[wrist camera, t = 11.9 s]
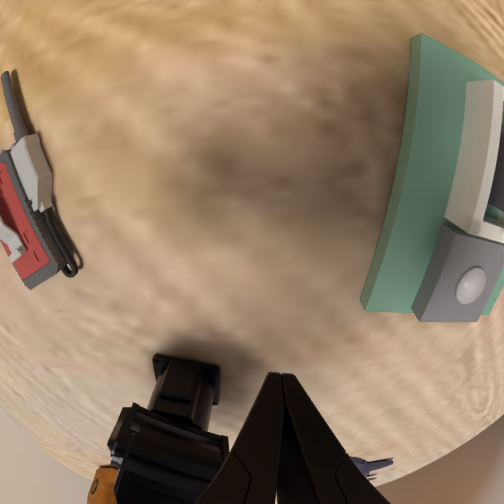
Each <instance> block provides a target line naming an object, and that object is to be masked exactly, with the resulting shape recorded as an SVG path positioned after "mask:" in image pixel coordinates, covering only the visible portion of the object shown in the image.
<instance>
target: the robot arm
mask: <svg viewBox="0 0 504 504" xmlns="http://www.w3.org/2000/svg"><path fill="white" fill-rule="evenodd" d="M152 361H153V366H154V372H155V377H156V381H157V382H156V385H155V388H154V391H153V393H152V396H151V399H150V402H149V404H148V407H147V409H145V408H143V407H141V406H139V404H136V403H134V402H133V405H132V407H131V408H130V407H123V409H122V411H121V413H120V416H119V418H118V421H117V423H116V425H115V427H114V429H113V431H112V434H111V436H110V438H109V440H108V443H107V446H108V448H109V450H110V451H111V455H110V456H111V457H112V460H111V464H110V465H112V466H115V467H117V468H119V469H118V472H117V476H116V479H115V483H114V489H113V491H114V494H115V497H116V501H117V504H275V498H276V490H277V503H278V504H391V503H390V502H389V501H387V499H386V498H385V497H384V496H383V495H381V493H380V492H379V491H378V490H377V489H376V488H375V487H374V486H373V485H372V484H371V483H370V482H369V481H368V479H367V478H366V477H365V476H364V475H363V474H362V473H361V471H360V470H359V469H358V467H357V466H356V465H355V463H354V462H353V461H352V459H351V458H350V456H349V455H348V453H346V451H345V449H344V448H343V446H342V445H341V443H340V442H339V441H338V439H337V438H336V436H335V435H334V433H333V432H332V430H331V429H330V427H329V426H328V424H327V423H326V421H325V420H324V419H323V417H322V416H321V414H320V413H319V411H318V410H317V408H316V407H315V405H314V404H313V402H312V401H311V399H310V398H309V396H308V395H307V393H306V391H305V390H304V388H303V387H302V385H301V384H300V382H299V381H298V379H297V378H296V376H295V375H294V374H290V373H282V374H280V373H278V372H268V374H267V376H266V378H265V380H264V382H263V385H262V387H261V389H260V391H259V393H258V395H257V398H256V400H255V402H254V404H253V406H252V408H251V410H250V412H249V414H248V417H247V419H246V421H245V423H244V425H243V427H242V429H241V431H240V433H239V435H238V437H237V439H236V441H235V443H234V445H233V447H232V449H231V451H230V452H229V442H228V437H227V436H224V435H221V436H220V435H217V434H214V433H210V432H207V431H208V426H209V420H210V414H211V409H212V405H218V403H219V388H220V372H221V369H220V367H219V366H217V365H212V364H205V363H199V362H193V361H187V360H182V359H177V358H171V357H166V356H161V355H154V356H153V359H152ZM136 431H137V432H136Z"/></svg>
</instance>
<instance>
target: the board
mask: <svg viewBox="0 0 504 504" xmlns="http://www.w3.org/2000/svg"><path fill="white" fill-rule="evenodd" d="M501 124H504V82H503V81H501V80H500V79H499V78H497V77H496V76H494V75H493V74H492V73H490V72H489V71H487V70H486V69H484V68H483V67H481V66H480V65H478V64H477V63H475V62H473V61H472V60H470V59H469V58H467V57H465V56H464V55H462V54H460V53H458V52H457V51H455V50H453V49H451V48H449V47H448V46H446V45H444V44H442V43H440V42H438V41H436V40H434V39H432V38H430V37H428V36H426V35H424V34H422V33H421V34H419V35H417V36H414V37H412V38H411V54H410V72H409V84H408V95H407V104H406V112H405V120H404V127H403V133H402V140H401V146H400V151H399V157H398V162H397V167H396V172H395V177H394V182H393V186H392V191H391V195H390V199H389V204H388V208H387V212H386V216H385V219H384V223H383V227H382V231H381V234H380V238H379V241H378V245H377V248H376V251H375V255H374V258H373V261H372V264H371V267H370V271H369V274H368V277H367V280H366V283H365V286H364V288H363V291H362V294H361V297H360V301H361V303H362V305H363V307H364V310H365V311H380V312H397V313H414V314H415V316H416V317H417V319H418V320H419V322H477V321H478V319H479V317H480V315H489V314H490V312H491V310H492V308H493V306H494V304H495V302H496V300H497V298H498V296H499V294H500V292H501V289H502V287H503V285H504V212H503V211H501V210H499V209H497V208H495V207H494V206H492V205H490V204H488V199H489V195H490V191H491V186H492V182H493V177H494V172H495V167H496V161H497V155H498V149H499V142H500V133H501Z"/></svg>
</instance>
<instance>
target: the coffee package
mask: <svg viewBox="0 0 504 504" xmlns="http://www.w3.org/2000/svg"><path fill="white" fill-rule="evenodd" d="M117 472H118V470H117V469H113V468H99V469H97V470H96V474H95V477H94V480H93V483H92V486H91V488H90V491H89V494H88V500H87V504H117V501H116V497H115V494H114V491H113V489H114V483H115V479H116V476H117Z"/></svg>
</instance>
